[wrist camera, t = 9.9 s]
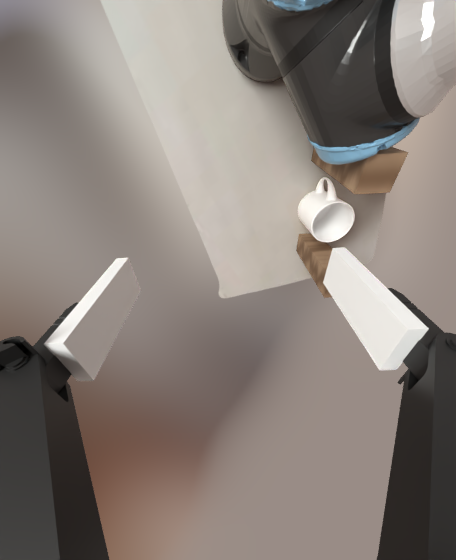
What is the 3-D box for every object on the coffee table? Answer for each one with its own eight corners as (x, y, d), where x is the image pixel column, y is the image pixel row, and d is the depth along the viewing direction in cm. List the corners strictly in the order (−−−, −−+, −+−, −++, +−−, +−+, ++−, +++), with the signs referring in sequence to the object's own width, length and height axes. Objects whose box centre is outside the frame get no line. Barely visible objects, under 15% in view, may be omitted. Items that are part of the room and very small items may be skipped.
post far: (299, 234, 55) (330, 277, 38) (318, 233, 55) (357, 276, 38) (296, 250, 58) (324, 297, 41) (314, 249, 57) (349, 296, 41)
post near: (316, 132, 41) (368, 154, 27) (341, 131, 41) (408, 152, 26) (311, 160, 45) (354, 194, 30) (334, 159, 45) (389, 192, 30)
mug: (337, 169, 46) (363, 178, 37) (329, 221, 53) (350, 239, 44) (298, 176, 46) (315, 186, 38) (295, 226, 53) (309, 245, 45)
